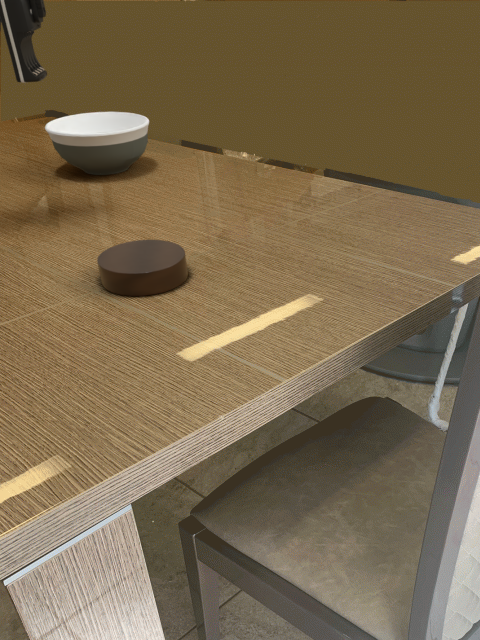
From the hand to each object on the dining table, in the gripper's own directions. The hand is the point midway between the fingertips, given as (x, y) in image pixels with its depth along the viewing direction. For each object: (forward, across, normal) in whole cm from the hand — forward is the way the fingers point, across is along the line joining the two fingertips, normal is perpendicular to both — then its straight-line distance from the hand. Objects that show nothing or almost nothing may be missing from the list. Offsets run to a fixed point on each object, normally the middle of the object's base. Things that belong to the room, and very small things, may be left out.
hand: (22, 21), depth 89 cm
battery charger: (+7, 0, 0) cm, 7 cm away
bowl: (+26, +2, +24) cm, 35 cm away
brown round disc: (+26, +16, -28) cm, 41 cm away
